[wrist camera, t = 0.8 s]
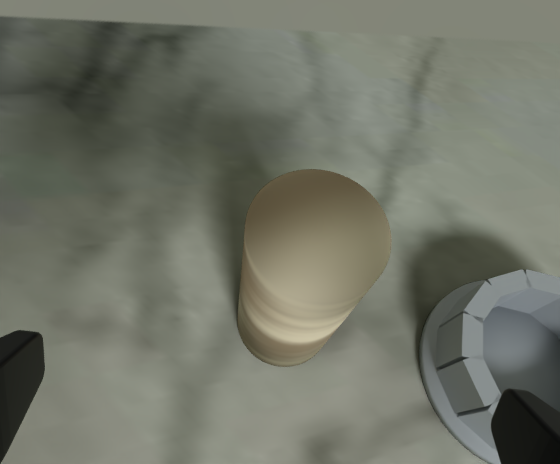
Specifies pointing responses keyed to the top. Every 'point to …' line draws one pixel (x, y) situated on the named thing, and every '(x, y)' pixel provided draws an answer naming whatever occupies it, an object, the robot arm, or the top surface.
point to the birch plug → (307, 262)
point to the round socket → (491, 352)
